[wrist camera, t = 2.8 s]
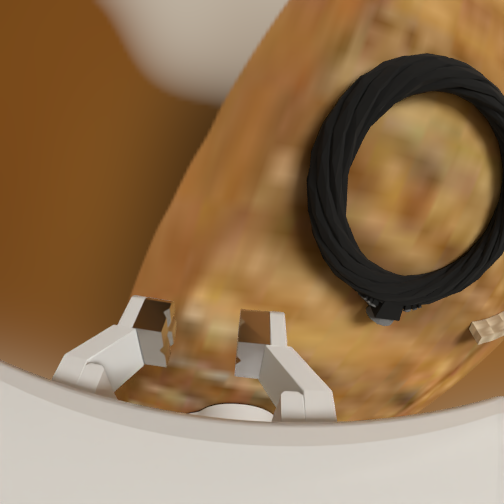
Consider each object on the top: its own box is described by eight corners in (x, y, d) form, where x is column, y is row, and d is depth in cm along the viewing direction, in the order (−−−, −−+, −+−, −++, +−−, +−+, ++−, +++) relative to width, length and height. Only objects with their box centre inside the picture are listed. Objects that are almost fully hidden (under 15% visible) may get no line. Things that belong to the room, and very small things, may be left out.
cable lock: (556, 132, 18) (460, 335, 33) (536, 124, 22) (449, 317, 37) (355, 0, 16) (267, 311, 31) (343, 10, 19) (266, 288, 34)
